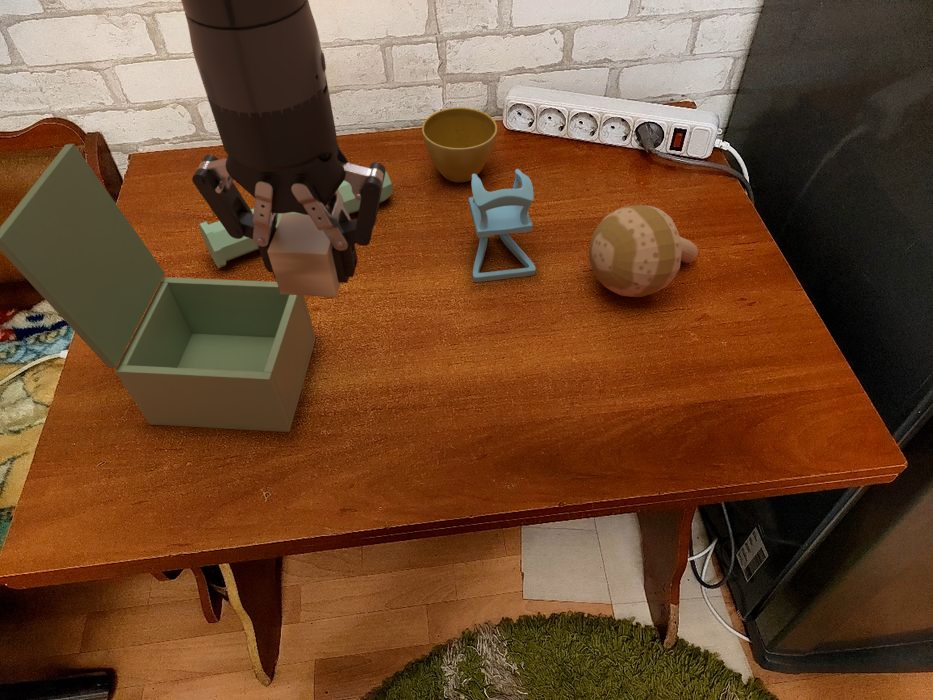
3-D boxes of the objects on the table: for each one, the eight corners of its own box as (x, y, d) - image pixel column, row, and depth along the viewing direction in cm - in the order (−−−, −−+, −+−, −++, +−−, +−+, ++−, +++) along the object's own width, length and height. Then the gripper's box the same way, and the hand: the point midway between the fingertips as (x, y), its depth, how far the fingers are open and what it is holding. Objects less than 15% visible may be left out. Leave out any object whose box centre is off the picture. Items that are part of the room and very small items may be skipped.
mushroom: (736, 262, 80) (671, 243, 69) (671, 321, 85) (601, 312, 75) (685, 201, 85) (617, 175, 74) (626, 261, 90) (556, 244, 80)
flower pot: (509, 165, 98) (510, 120, 93) (472, 202, 93) (471, 157, 87) (450, 144, 102) (448, 100, 96) (411, 179, 96) (407, 134, 91)
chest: (316, 338, 77) (300, 282, 70) (289, 432, 69) (269, 379, 62) (190, 332, 78) (163, 276, 71) (149, 424, 70) (114, 371, 63)
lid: (73, 143, 59) (65, 144, 59) (-1, 238, 51) (-11, 239, 51) (165, 273, 71) (157, 273, 71) (116, 367, 63) (108, 368, 63)
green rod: (380, 149, 90) (195, 214, 81) (402, 184, 89) (216, 254, 80) (376, 175, 96) (202, 239, 87) (396, 209, 94) (222, 277, 85)
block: (280, 294, 55) (266, 251, 51) (294, 256, 58) (283, 212, 54) (336, 297, 55) (326, 254, 51) (348, 258, 58) (339, 215, 54)
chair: (522, 231, 89) (527, 151, 79) (536, 275, 83) (543, 195, 74) (463, 238, 88) (461, 158, 79) (473, 283, 83) (473, 202, 73)
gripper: (131, 103, 41) (214, 302, 54) (366, 112, 40) (393, 312, 53) (176, 44, 46) (243, 239, 59) (387, 51, 45) (407, 248, 58)
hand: (314, 273), depth 56 cm, fingers closed on block, 4 cm apart
